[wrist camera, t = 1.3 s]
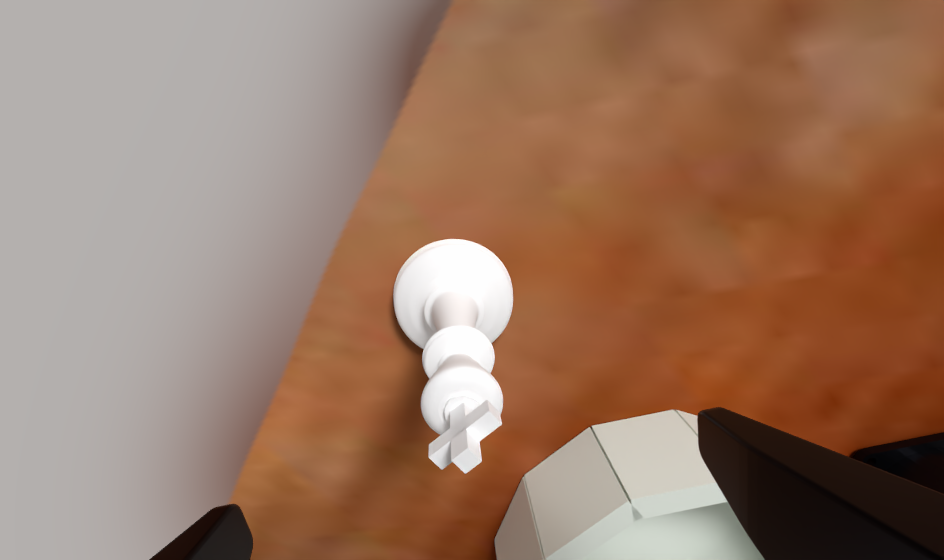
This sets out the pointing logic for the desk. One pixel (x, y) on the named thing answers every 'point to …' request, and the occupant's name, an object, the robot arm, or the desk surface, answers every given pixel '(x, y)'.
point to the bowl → (624, 499)
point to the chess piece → (456, 341)
